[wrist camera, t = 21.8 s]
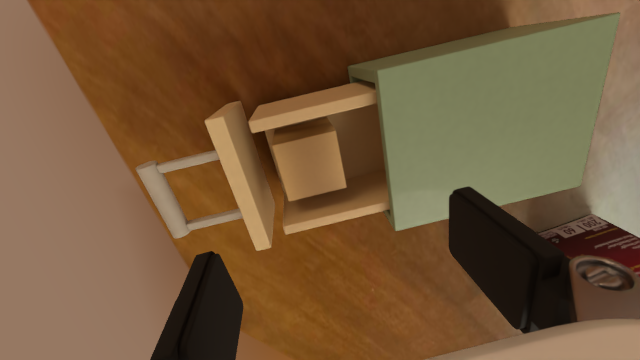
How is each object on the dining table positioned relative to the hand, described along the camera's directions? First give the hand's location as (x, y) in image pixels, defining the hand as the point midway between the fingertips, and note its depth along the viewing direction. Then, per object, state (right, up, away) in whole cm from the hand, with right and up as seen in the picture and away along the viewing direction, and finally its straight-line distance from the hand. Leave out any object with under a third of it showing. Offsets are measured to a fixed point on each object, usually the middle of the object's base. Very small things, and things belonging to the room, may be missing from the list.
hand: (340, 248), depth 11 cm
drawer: (-4, +5, +14) cm, 16 cm away
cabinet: (+10, +9, +15) cm, 20 cm away
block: (-2, +5, +13) cm, 14 cm away
